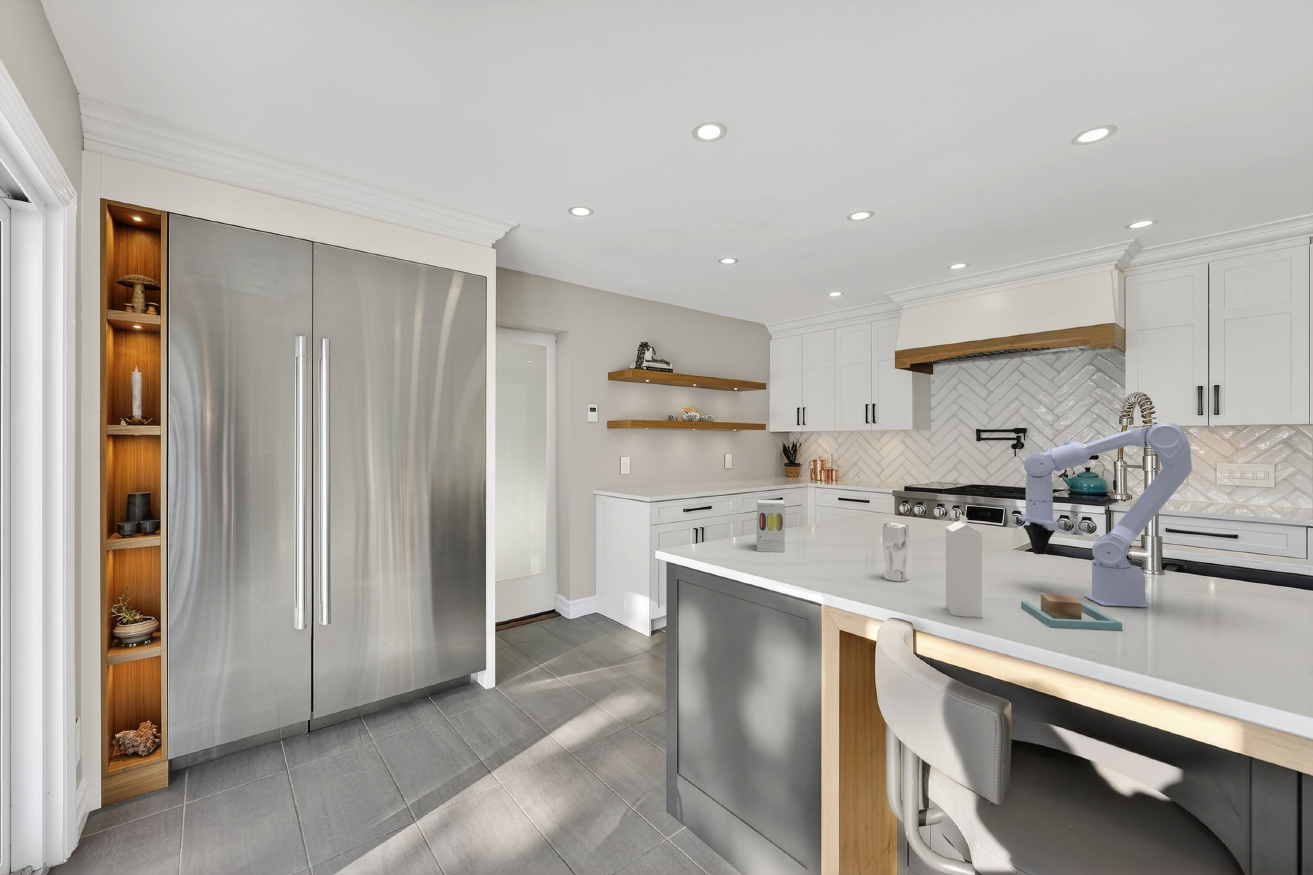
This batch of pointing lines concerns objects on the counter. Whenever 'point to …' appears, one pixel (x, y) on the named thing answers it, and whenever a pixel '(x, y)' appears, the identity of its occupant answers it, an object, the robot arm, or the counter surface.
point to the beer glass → (895, 551)
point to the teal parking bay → (1101, 623)
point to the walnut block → (1061, 606)
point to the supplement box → (771, 526)
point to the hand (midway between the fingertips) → (1039, 553)
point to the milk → (963, 569)
